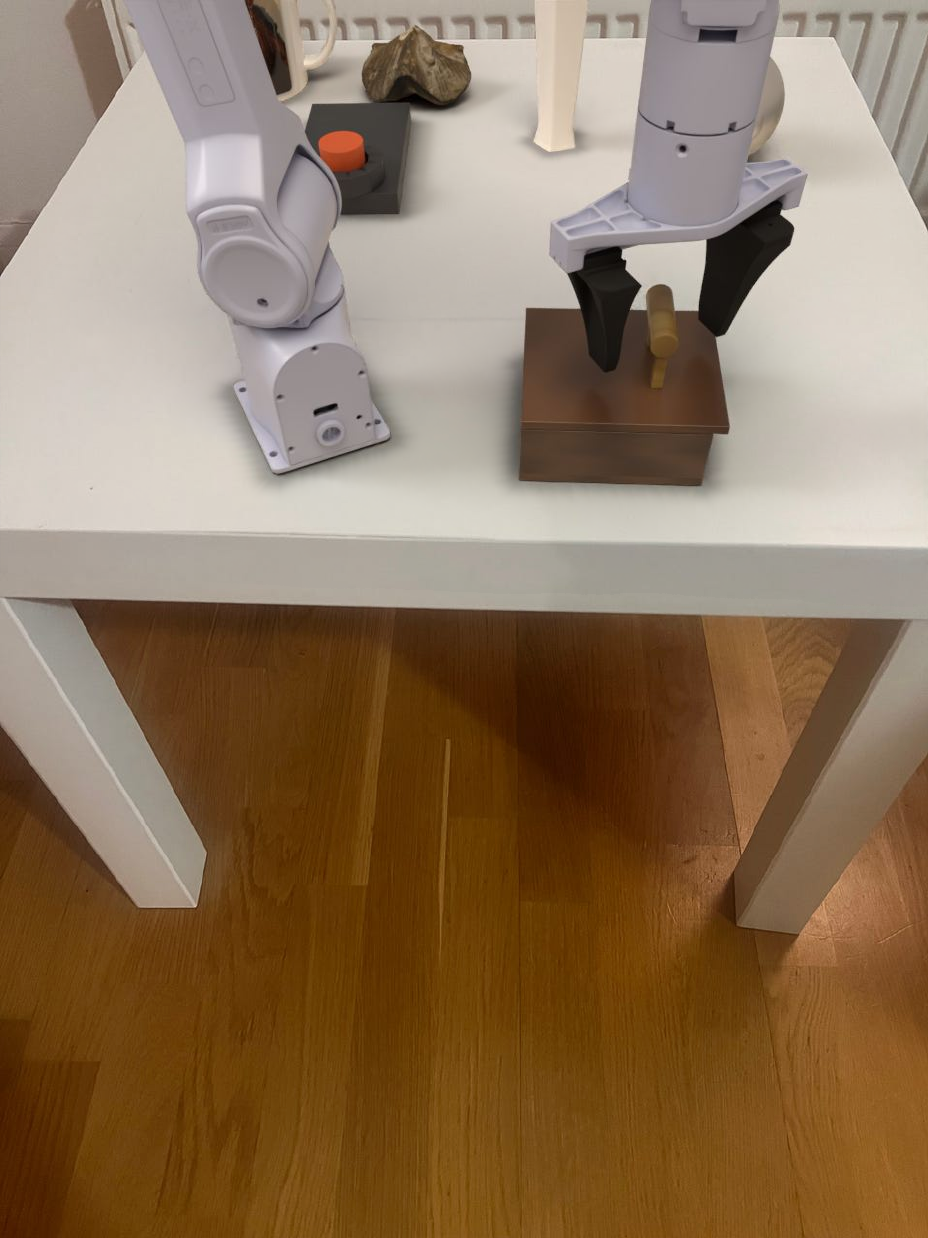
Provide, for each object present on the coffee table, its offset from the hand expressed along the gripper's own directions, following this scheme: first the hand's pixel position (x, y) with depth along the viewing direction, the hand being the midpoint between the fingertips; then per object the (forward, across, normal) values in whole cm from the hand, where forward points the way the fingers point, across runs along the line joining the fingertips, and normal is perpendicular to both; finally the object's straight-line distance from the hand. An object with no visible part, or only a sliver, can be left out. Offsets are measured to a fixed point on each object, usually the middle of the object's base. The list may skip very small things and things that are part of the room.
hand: (657, 344), depth 56 cm
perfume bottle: (+6, -13, -36) cm, 39 cm away
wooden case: (+6, +2, -1) cm, 7 cm away
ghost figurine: (+6, -24, -27) cm, 36 cm away
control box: (+6, +5, -40) cm, 41 cm away
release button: (+3, +8, -35) cm, 36 cm away
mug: (+6, +7, -59) cm, 60 cm away
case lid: (+2, +2, -1) cm, 3 cm away
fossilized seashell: (+6, -5, -50) cm, 51 cm away
